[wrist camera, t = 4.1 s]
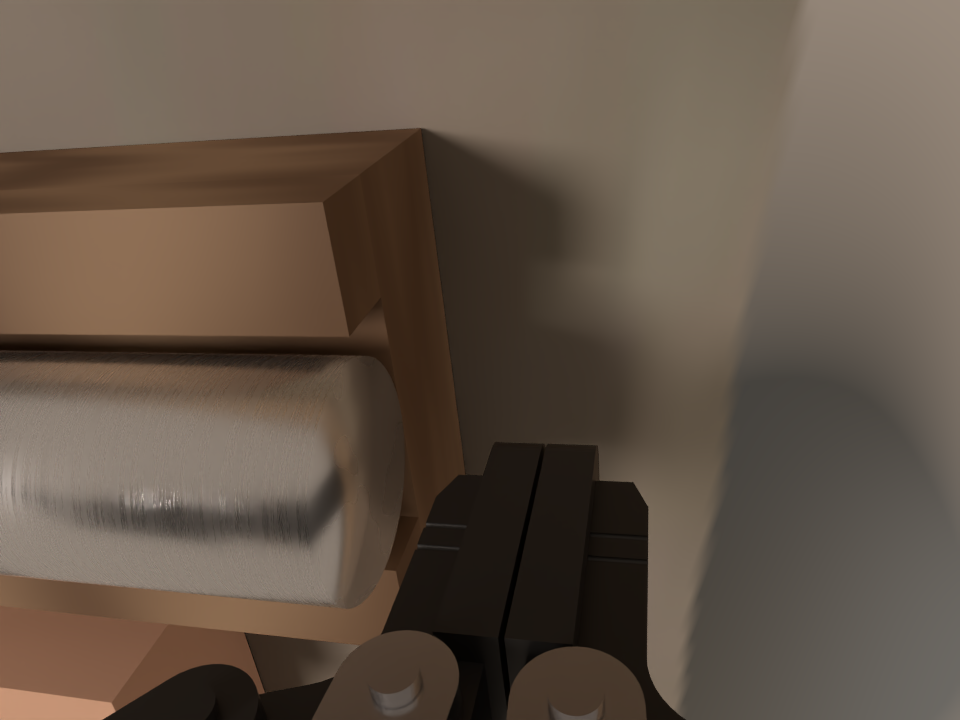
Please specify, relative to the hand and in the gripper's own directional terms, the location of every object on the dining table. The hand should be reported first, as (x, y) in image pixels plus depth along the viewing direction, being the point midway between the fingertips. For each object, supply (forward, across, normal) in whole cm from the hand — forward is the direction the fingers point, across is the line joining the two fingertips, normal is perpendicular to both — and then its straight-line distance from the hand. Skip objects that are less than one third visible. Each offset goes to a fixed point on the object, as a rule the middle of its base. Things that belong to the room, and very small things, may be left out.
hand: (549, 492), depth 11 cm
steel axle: (+2, +11, 0) cm, 11 cm away
